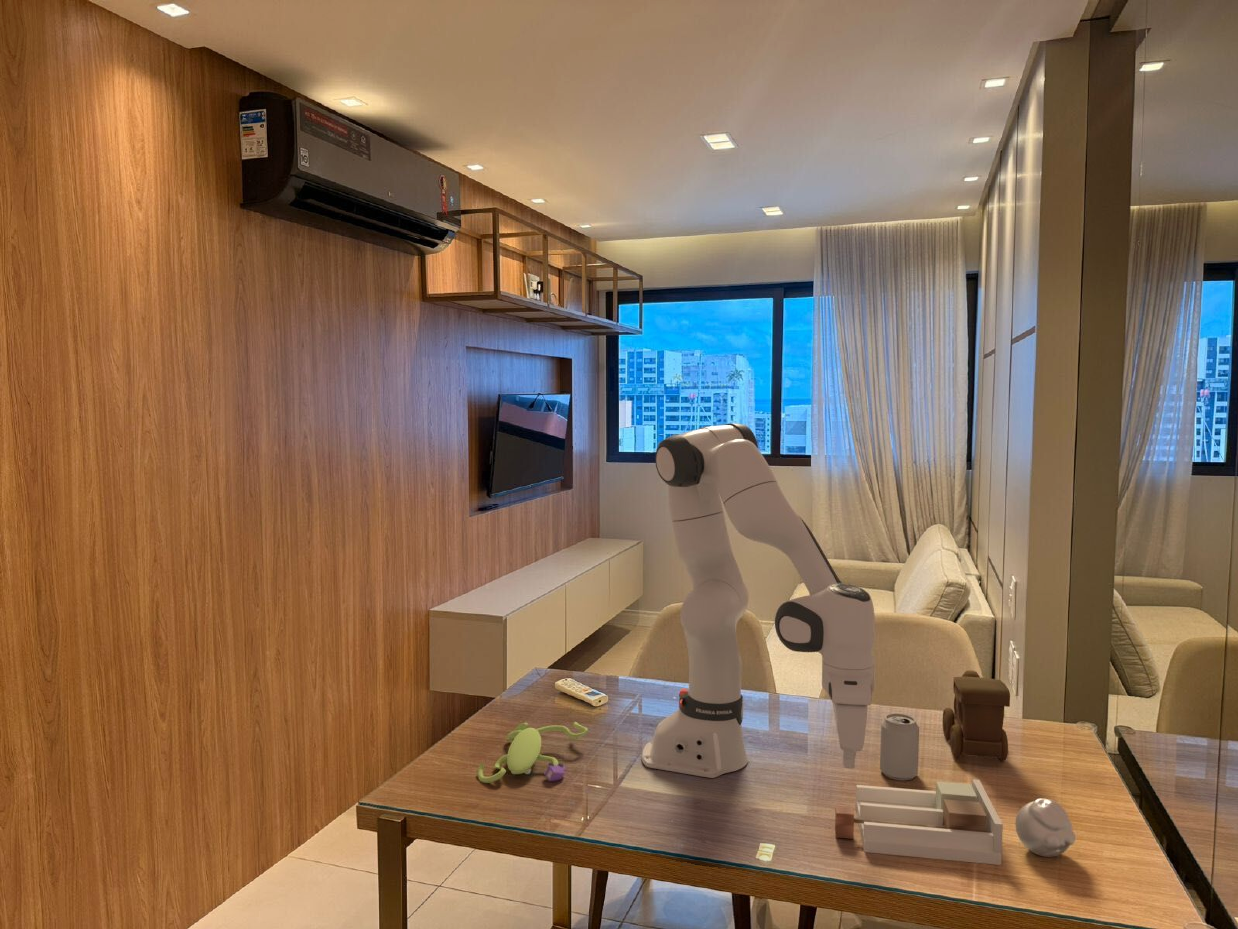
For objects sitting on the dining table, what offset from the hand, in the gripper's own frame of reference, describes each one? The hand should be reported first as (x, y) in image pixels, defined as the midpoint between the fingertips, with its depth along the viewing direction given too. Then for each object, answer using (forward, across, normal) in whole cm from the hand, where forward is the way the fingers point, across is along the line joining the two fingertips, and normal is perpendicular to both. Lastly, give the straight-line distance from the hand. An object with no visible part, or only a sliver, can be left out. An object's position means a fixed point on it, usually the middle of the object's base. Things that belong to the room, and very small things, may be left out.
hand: (846, 755), depth 151 cm
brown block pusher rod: (+15, 0, +11) cm, 18 cm away
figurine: (+15, -21, -63) cm, 68 cm away
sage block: (+13, -7, +20) cm, 25 cm away
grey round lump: (+15, 0, +33) cm, 36 cm away
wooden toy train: (+15, -44, +31) cm, 56 cm away
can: (+15, -28, +13) cm, 34 cm away
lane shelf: (+15, -4, +14) cm, 21 cm away
